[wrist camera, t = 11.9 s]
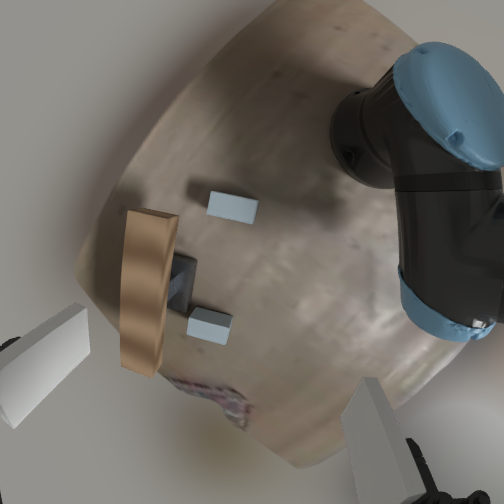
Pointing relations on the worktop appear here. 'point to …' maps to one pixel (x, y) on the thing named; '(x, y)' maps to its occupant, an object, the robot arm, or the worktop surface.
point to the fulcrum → (181, 283)
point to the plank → (145, 288)
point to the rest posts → (209, 321)
